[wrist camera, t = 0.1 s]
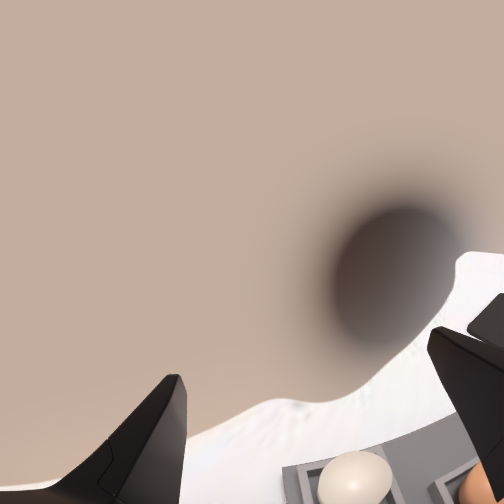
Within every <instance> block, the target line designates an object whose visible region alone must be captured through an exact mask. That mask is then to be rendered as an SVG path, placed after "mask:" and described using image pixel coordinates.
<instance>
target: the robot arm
mask: <svg viewBox="0 0 504 504" xmlns="http://www.w3.org/2000/svg"><path fill="white" fill-rule="evenodd" d="M427 351H428V354H429V356H430V358H431V360H432V362H433V365H434V367H435V369H436V372H437V374H438V376H439V379H440V381H441V383H442V385H443V387H444V389H445V390H446V392H447V394H448V396H449V398H450V400H451V401H452V403H453V405H454V407H455V409H456V411H457V413H458V415H459V417H460V419H461V421H462V423H463V425H464V427H465V429H466V431H467V433H468V435H469V437H470V439H471V442H472V444H473V446H474V448H475V450H476V452H477V455H478V457H479V459H480V462H481V463H482V467H483V469H484V471H485V474H486V476H487V479H488V481H489V484H490V487H491V489H492V492H493V495H494V498H495V500H496V502H497V503H498V502H500V501H501V500H502V499H503V498H504V350H503V349H500V348H497V347H495V346H492V345H490V344H487V343H484V342H482V341H479V340H476V339H474V338H471V337H469V336H466V335H463V334H461V333H458V332H455V331H453V330H450V329H448V328H445V327H442V326H440V327H437V328H434V329H432V331H431V333H430V337H429V341H428V345H427ZM186 436H187V393H186V389H185V386H184V384H183V381H182V379H181V376H180V375H178V374H169V375H167V376H166V377H165V378H164V379H163V380H162V381H161V382H160V383H159V384H158V385H157V386H156V387H155V389H154V390H153V391H152V392H151V393H150V394H149V395H148V396H147V397H146V398H145V399H144V400H143V401H142V402H141V404H140V405H139V406H138V407H137V408H136V409H135V410H134V411H133V412H132V413H131V414H130V415H129V416H128V417H127V418H126V419H125V421H124V422H123V423H122V424H121V425H120V426H119V427H118V428H117V429H116V430H115V431H114V432H113V433H112V434H111V435H110V436H109V437H108V439H107V440H105V442H104V443H103V444H102V445H101V446H100V447H99V448H98V449H97V450H96V451H95V452H93V454H91V455H90V456H89V457H88V458H87V459H86V460H85V461H84V462H82V463H81V464H80V465H79V466H77V467H76V468H75V469H74V470H72V471H71V472H70V473H69V474H67V475H66V476H65V477H64V478H62V479H61V480H60V481H58V482H57V483H55V484H54V485H52V486H50V487H47V488H43V489H36V490H23V491H0V504H179V496H180V487H181V478H182V469H183V461H184V453H185V445H186Z"/></svg>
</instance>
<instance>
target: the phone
mask: <svg viewBox="0 0 504 504" xmlns="http://www.w3.org/2000/svg"><path fill="white" fill-rule="evenodd" d="M467 332H468V333H469V334H471V335H472V336H474V337H476V338H477V339H479V340H481V341H483V342H484V343H487V344H490V345H492V346H495V347H497V348H500V349H503V350H504V293H500V294H498V295H497V296H496V297H495V298H494V300H493V301H492V302H491V303H490V304H489V305H488V306H487V307H486V308H485V309H484V310H483V311H482V312H481V313H480V314H479V315H478V316H477V317H476V318H475V319H474V320H473V321H472V322H471V323H470V324H469V325H468V327H467Z"/></svg>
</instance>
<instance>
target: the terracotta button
mask: <svg viewBox="0 0 504 504" xmlns="http://www.w3.org/2000/svg"><path fill="white" fill-rule="evenodd" d="M459 501H460V504H504V498H503V499H502V500H501V501H500V502H498V503H497V502H496V500H495V498H494V495H493V492H492V489H491V487H490V484H489V481H488V479H487V476H486V474H485V471H484V469H483V467H482V463H481V462H480V461H479V462H478V463H477V465H476V466H475V467H474V468H473V469H472V470H471V471H470V472H469V473H468V474H467V475H466V476H465V478H464V479H463V481H462V483H461V485H460V489H459Z"/></svg>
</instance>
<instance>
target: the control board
mask: <svg viewBox="0 0 504 504" xmlns="http://www.w3.org/2000/svg"><path fill="white" fill-rule="evenodd" d="M360 451H366V452H371V453H374V454H376V455H378V456H380V457H381V458H383V459H384V460H385V461H386V462H387V463H388V465H389V466H390V468H391V471H392V484H391V487H390V489H389V491H388V493H387V494H386V496H385V497H384V498H383V499H382V501H381V502H380V503H379V504H460V501H459V489H460V485H461V483H462V481H463V479H464V478H465V476H466V475H467V474H468V473H469V472H470V471H471V470H472V469H473V468H474V467H475V466H476V465H477V463H478V462H479V461H480V459H479V457H478V455H477V452H476V450H475V448H474V446H473V444H472V442H471V439H470V437H469V435H468V433H467V431H466V429H465V427H464V425H463V423H462V421H461V419H460V417H459V415H458V413H457V412H455V413H453V414H451V415H449V416H447V417H445V418H443V419H441V420H439V421H437V422H435V423H432V424H430V425H428V426H426V427H423V428H421V429H419V430H416V431H414V432H411V433H409V434H406V435H404V436H401V437H399V438H396V439H393V440H390V441H388V442H385V443H382V444H379V445H376V446H373V447H369V448H366V449H363V450H360ZM337 457H338V456H337ZM334 458H336V457H333V458H329V459H325V460H320V461H316V462H311V463H305V464H300V465H294V466H288V467H282V472H283V480H284V486H285V493H286V499H287V504H320V503H319V501H318V498H317V490H318V484H319V479H320V475H321V473H322V471H323V469H324V468H325V466H326V465H327V464H328V463H329V462H330V461H331V460H333V459H334Z"/></svg>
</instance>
